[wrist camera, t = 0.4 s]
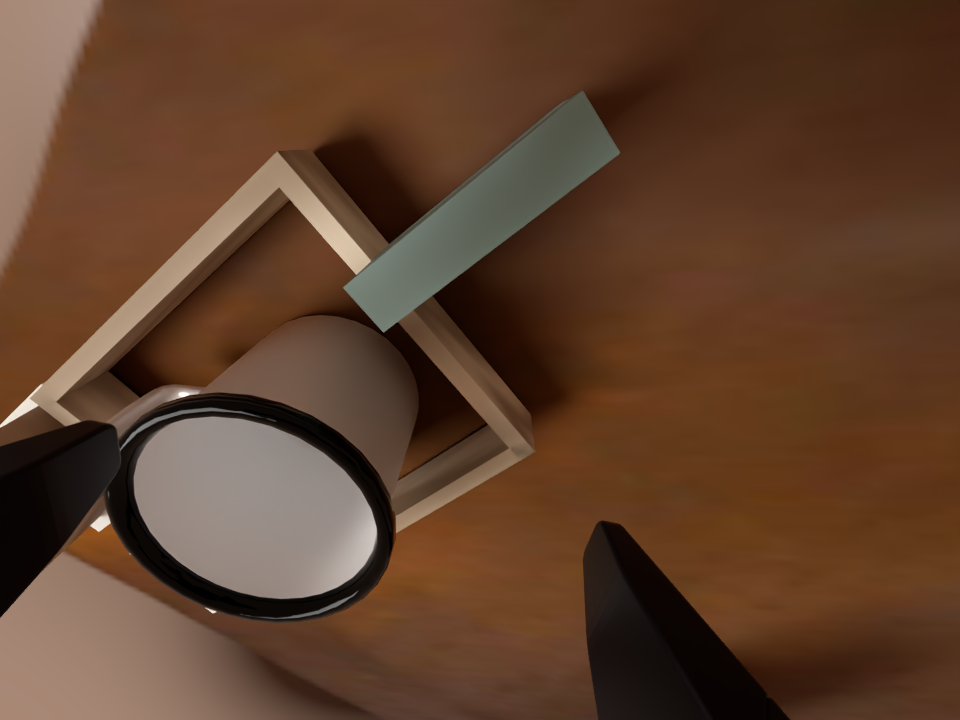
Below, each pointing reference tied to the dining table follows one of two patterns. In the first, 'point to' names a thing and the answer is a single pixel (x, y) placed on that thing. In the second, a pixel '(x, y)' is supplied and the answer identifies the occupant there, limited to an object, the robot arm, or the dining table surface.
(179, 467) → the mug
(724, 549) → the dining table surface
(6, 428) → the beige cube
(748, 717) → the robot arm
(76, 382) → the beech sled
